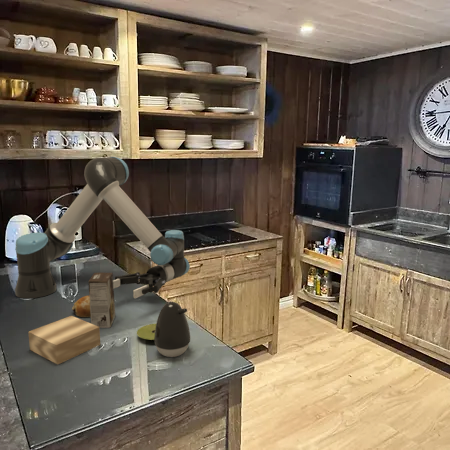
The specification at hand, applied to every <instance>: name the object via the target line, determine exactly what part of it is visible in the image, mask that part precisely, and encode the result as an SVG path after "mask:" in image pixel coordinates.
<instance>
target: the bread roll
mask: <svg viewBox="0 0 450 450" xmlns="http://www.w3.org/2000/svg"><path fill="white" fill-rule="evenodd" d="M71 310H72V311H73V314H74V315H75V316H76V317H78V318H79V317H80V318H91V312H90V297H89V295H84V296H82V297H80V298H79V299H78V300H76V301H75V302H74V303H73V306H72V308H71Z"/></svg>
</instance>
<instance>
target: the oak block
mask: <svg viewBox="0 0 450 450" xmlns="http://www.w3.org/2000/svg"><path fill="white" fill-rule="evenodd" d="M27 334H28V342H29V350H30V351H31V352H33V353H35V354H37V355H39V356H40V357H43V358H44V359H46V360H48V361H50V362H52V363H53V364H55V365H60V364H62V363H65V362H66V361H68V360H71V359H73V358H75V357H77V356H79V355H81V354H83V353H86V352H88V351H90V350H92V349H94V348H96V347H98V346H101V344H102V343H101V329H100V328H99V327H98V326H96V325H93V324H91V322H88V321H85V320H83V319H82V318H79V317H77V316H76V317H75V316H73V315H70V316H66V317H65V318H61V319H59V320H56V321H53V322H50V323H48V324H44V325H42V326H40V327H37V328H34V329H32V330H30V331H28V333H27Z"/></svg>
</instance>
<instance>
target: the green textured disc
mask: <svg viewBox="0 0 450 450" xmlns="http://www.w3.org/2000/svg"><path fill="white" fill-rule="evenodd" d="M155 328H156V323H150V324H145V325H143V326H141V327H140V328H138V329H137V331H136V335H137V336H138V337H139V338H140V339H144V340H151V341H152V340H153V341H154V335H155Z"/></svg>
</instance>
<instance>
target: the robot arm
mask: <svg viewBox="0 0 450 450" xmlns="http://www.w3.org/2000/svg"><path fill="white" fill-rule="evenodd" d="M83 176H84V179H85V182H86V185H85V186H84V187H83V188H82V190H81V191H80V193H79V194H78V195H77V196H76V198H75V199H74V200H73V202H72V203H71V204H70V206H68V208H67V210H66V211H65V212H64V213H63V215H62V216H61V217H60V218H59V220H58V221H57V222H53V223H51V224H50V225H49V227H48V228H47V229H46V230H45V231H44V232H39V231H38V232H30V233H26V234H23V235H21V236H19V237H18V238H17V239H16V241H15V253H16V254H15V255H16V262H17V271H18V277H17V281H16V285H15V289H14V291H15V296H16V297H18V298H21V299H36V298H37V299H38V298H42V297H45V296H49V295H51V294H53V293H55V292H56V291H57V283H56V281H55V279H54V277H53V275H52V272H51V265H50V262H51V261H53V260H55V259H56V260H57V258H60V257H64V256H65V255H67V254H68V253H69V252H70V251H71V250H72V248H73V247H74V242H75V240H76V236H75V234H76V233H77V232H78V231H79V230H80V228H81V227H83V224H85V222H86V221H87V220H88V218H89V217H90V215H91V214H92V213H93V212H94V211H95V210H96V209H97V208H98V206H99V205H100V204H101V202H102V201H104V202H105V203H106V204H107V205H108V206H109V208H111V209H112V211H113V212H114V213H115V214H116V216H118V217H119V218H120V219H121V220H122V222H123V223H124V224H125V225H126V226H127V227H128V228H129V230H130V231H131V232H132V233H133V234H134V235H135V236H136V238H137V239H138V240H139V241H140V242H141V243H142V244H143V245H144V247H146V249H147V250H148V251H149V252H150V253H149V254H150V259H151V261H152V262H153V263H154V264H155V265H154V266H152V267H149V268H148V270H147V271H146V272H144V273H140V272H138V271H137V272H135V273H134V272H133V273H129V274H124V275H118V276H115V277H114V279H113V287H114V289H116V288H120V287H121V286H123V285H132V284H136V285H143V286H141V287H138V288H136V289H133V291H132V292H133V293H132V295H133V299H137V298H140V297H142V296H144V295H146V294H148V293H151V294H152V293H153V292H154V294H158V292H159V291H160V290H161V288H162V287H163V286H165V285H166V284H167V283H168V282H170V281H172V280H173V281H174V279H177V278H180V277H182V276H184V275H187V273H188V272H190V266H191V265H190V262H189V260H188V258H186V257H185V235H184V232H183V231H182V230H179V229H171V230H166V232H165V233H164V235H163V234H162V233H161V232H160V230H158V228H156V226H155V225H154V224H153V223H152V222H151V221H150V219H149V218H148V217H147V216H146V215H145V213H144V212H143V211H142V210H141V209H140V208H139V207H138V205H136V203H135V202H134V201H133V200H132V199H131V198H130V197H129V196H128V194H127V193H126V192H125V190H123V189H122V188H121V187H120V186H121V185H123V184H125V183H126V182H127V180H128V179H129V176H130V171H129V167H128V164H127V163H126V162H125V161H124V160H123V159H121V158H119V157H115V156H108V157H95V158H93V159H91V160H90V161H89V162H88V163H86V165H85V168H84V174H83Z"/></svg>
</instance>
